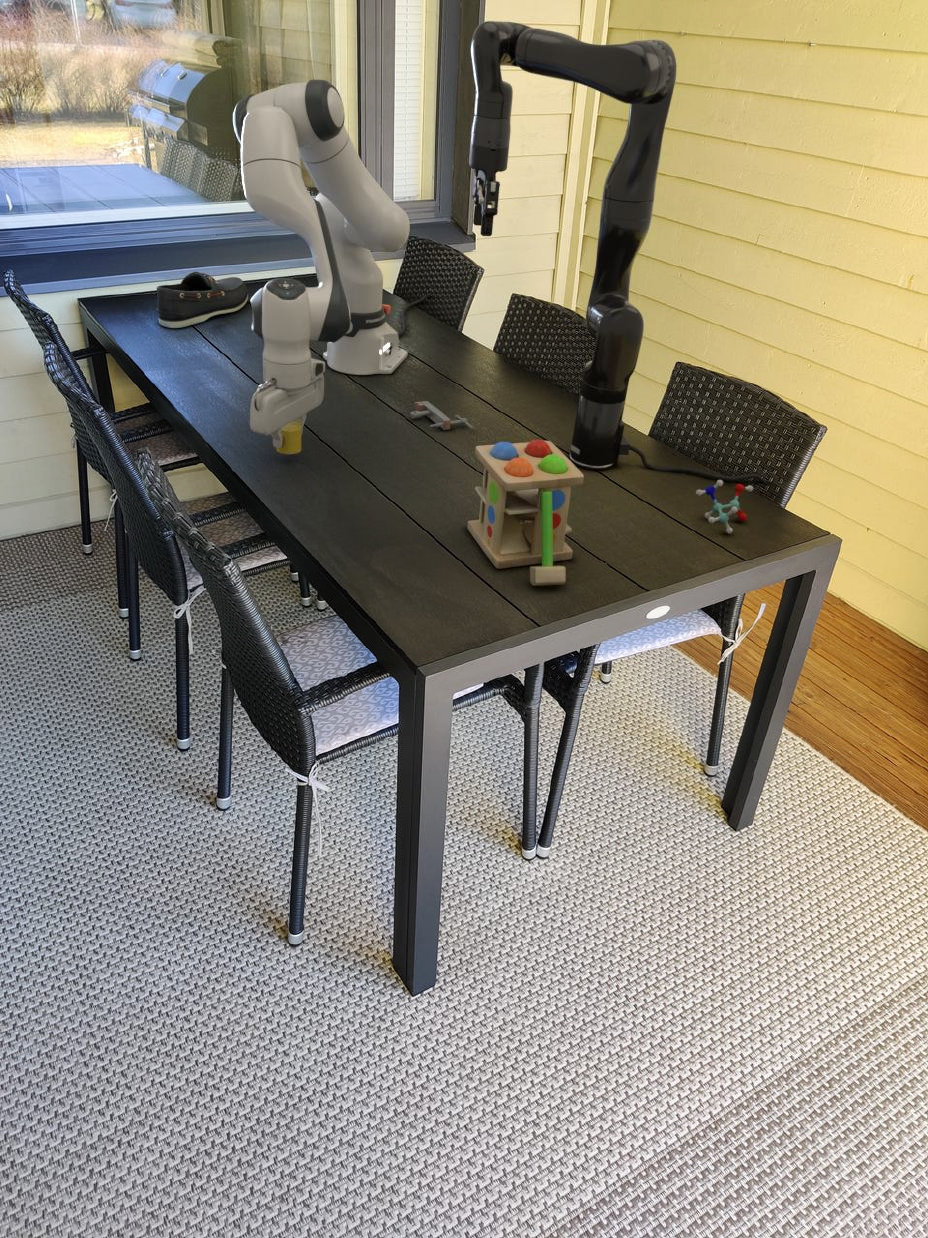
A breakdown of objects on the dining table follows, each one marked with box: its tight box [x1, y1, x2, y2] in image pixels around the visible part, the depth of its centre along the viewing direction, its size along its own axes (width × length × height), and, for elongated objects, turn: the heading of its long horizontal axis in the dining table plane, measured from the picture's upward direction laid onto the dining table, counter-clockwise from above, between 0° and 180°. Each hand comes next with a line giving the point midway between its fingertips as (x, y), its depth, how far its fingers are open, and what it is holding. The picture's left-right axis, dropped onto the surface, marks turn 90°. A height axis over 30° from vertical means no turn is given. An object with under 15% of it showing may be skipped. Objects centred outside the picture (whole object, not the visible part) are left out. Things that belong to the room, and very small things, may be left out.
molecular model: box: [695, 479, 754, 535], centre depth 183 cm, size 12×10×10 cm
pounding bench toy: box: [466, 439, 585, 587], centre depth 163 cm, size 23×14×18 cm, turn 20°
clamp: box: [409, 400, 476, 432], centre depth 212 cm, size 15×2×10 cm
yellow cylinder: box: [275, 421, 302, 455], centre depth 189 cm, size 5×5×5 cm
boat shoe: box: [155, 271, 249, 329], centre depth 258 cm, size 13×33×10 cm, turn 147°
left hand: (288, 440), depth 190 cm, fingers closed on yellow cylinder, 5 cm apart
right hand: (482, 230), depth 198 cm, fingers open, 8 cm apart
